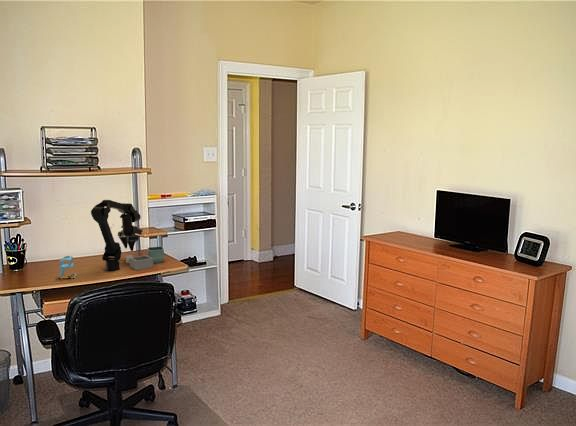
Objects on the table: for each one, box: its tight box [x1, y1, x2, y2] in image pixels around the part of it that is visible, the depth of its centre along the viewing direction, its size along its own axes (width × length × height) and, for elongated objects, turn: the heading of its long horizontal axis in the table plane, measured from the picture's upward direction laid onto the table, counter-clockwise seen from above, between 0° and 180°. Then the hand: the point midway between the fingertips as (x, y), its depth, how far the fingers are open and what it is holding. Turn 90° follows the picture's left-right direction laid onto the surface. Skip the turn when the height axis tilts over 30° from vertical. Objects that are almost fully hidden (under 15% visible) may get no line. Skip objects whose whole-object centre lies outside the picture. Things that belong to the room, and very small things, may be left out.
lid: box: [121, 254, 134, 264], centre depth 311 cm, size 11×11×5 cm
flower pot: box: [147, 245, 165, 264], centre depth 311 cm, size 9×9×9 cm
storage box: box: [129, 254, 154, 271], centre depth 299 cm, size 10×10×6 cm
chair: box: [58, 255, 77, 278], centre depth 281 cm, size 8×8×12 cm
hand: (129, 249), depth 310 cm, fingers open, 9 cm apart
